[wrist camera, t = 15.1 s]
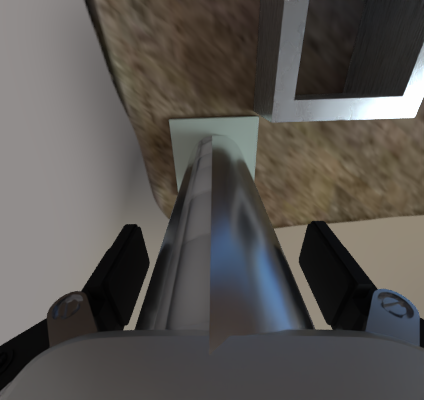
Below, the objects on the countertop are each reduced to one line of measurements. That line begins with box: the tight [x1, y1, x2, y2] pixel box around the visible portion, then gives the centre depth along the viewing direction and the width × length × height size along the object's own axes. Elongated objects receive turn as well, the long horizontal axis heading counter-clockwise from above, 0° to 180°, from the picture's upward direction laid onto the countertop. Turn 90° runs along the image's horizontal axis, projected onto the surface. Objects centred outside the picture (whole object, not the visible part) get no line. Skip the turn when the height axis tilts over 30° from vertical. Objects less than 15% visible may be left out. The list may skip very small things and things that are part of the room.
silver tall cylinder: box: [135, 135, 316, 355], centre depth 14 cm, size 6×6×25 cm
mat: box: [169, 116, 259, 192], centre depth 25 cm, size 10×10×1 cm
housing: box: [253, 0, 424, 122], centre depth 16 cm, size 11×11×8 cm
